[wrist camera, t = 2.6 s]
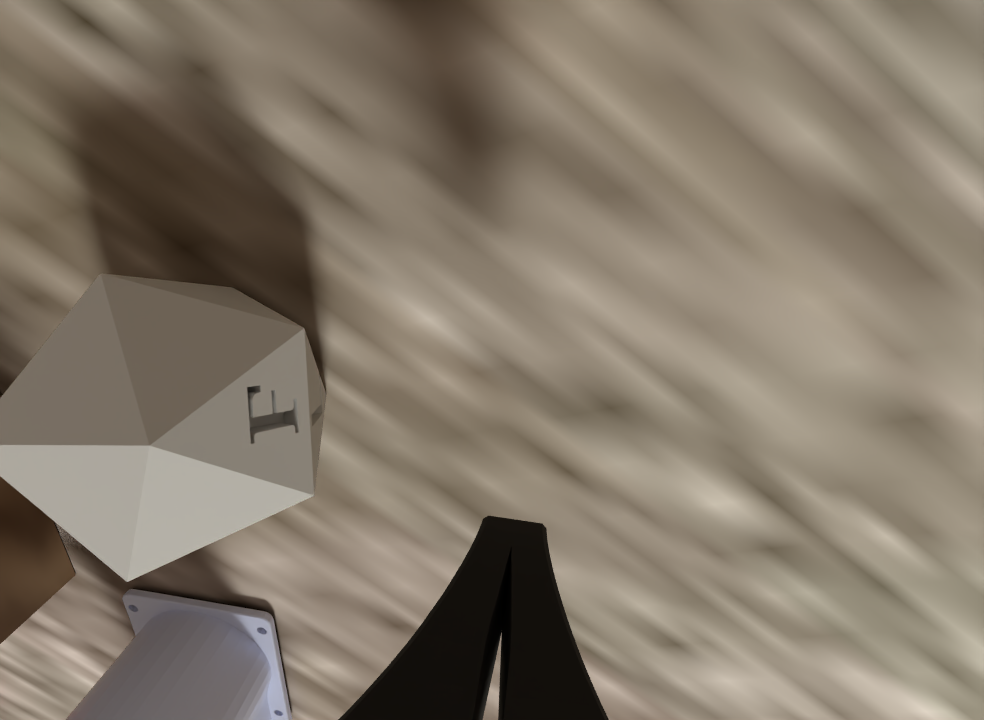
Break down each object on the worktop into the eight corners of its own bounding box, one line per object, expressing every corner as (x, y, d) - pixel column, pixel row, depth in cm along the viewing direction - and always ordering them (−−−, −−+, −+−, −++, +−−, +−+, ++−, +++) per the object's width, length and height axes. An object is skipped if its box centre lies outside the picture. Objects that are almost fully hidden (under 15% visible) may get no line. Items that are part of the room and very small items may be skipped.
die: (326, 480, 22) (356, 579, 13) (84, 514, 19) (-96, 679, 10) (315, 292, 21) (339, 263, 12) (64, 293, 18) (-146, 255, 9)
